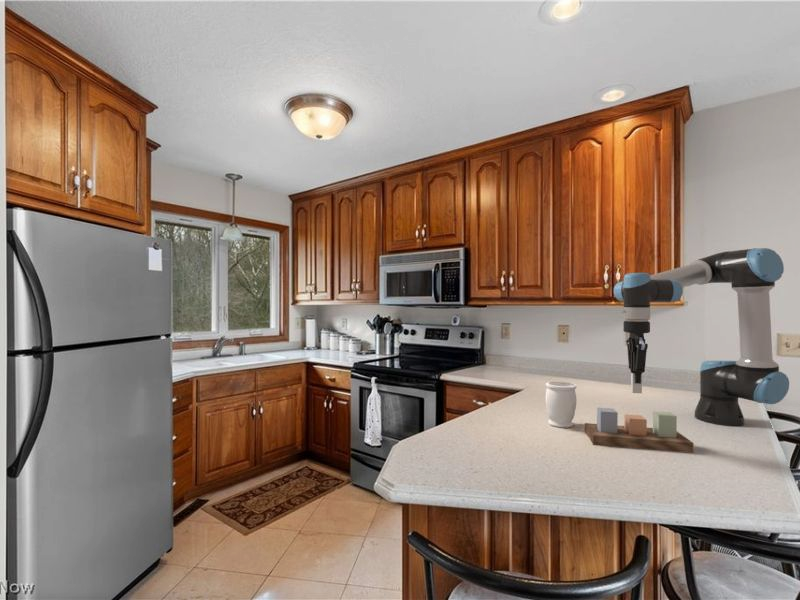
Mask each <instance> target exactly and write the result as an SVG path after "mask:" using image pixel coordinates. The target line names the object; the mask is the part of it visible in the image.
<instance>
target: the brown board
mask: <svg viewBox="0 0 800 600" xmlns="http://www.w3.org/2000/svg"><path fill="white" fill-rule="evenodd" d="M584 433H585V434H586V435H587V437H588V438H589V440H590V442H591V444H592V445H595V446H605V445H606V446H608V447H617V446H619V447H620V448H629V449H630V448H632V449H643V450H655V451H665V452H666V451H667V452H678V453H679V452H680V453H690V454H691V453H692V454H693V453H694V442H693V441H691V440H690V439H688V438H687V437H685V436H684V435H683V434H681V433H680V432H679V431H676V438H669V437H658V436H656V435H655V434H654V433H653V427H647V432H646V436H642V435H629V434H627V433H626V432H625V431H624V425H618V424H617V434H616V433H603V432H599V431H598V430H597V423H589V422H585V423H584Z"/></svg>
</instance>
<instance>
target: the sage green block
mask: <svg viewBox="0 0 800 600" xmlns="http://www.w3.org/2000/svg"><path fill="white" fill-rule="evenodd" d="M677 419H678V416H677V415H675V414H674V413H672V412H670V411H656V410H653V411H652V428H653V433H654V434H655V435H656V436H658V437H669V438H676V431H677V426H678V425H677V423H678V422H677ZM677 432H678V431H677Z"/></svg>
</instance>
